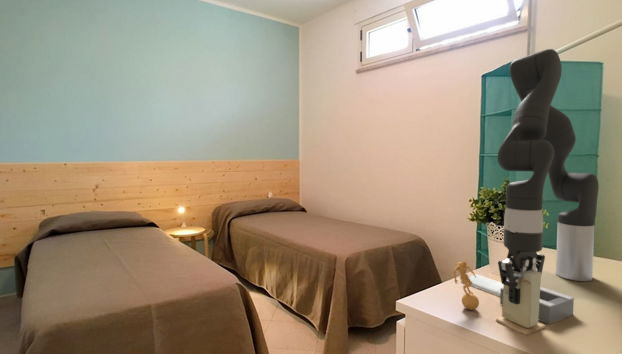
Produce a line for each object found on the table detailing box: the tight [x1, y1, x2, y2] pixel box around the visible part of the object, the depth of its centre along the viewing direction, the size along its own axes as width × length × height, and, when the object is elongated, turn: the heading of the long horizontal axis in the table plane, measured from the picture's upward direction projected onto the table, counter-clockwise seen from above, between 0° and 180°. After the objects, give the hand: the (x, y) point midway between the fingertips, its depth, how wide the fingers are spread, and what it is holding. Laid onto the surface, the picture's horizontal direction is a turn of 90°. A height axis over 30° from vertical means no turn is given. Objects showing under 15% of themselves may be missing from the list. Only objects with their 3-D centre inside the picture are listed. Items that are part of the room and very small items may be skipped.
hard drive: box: [460, 274, 504, 297], centre depth 100 cm, size 2×8×12 cm
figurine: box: [452, 260, 480, 311], centre depth 86 cm, size 8×6×12 cm
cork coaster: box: [495, 316, 546, 336], centre depth 78 cm, size 7×7×1 cm
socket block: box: [499, 286, 575, 325], centre depth 85 cm, size 10×12×4 cm
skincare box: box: [501, 270, 542, 328], centre depth 77 cm, size 6×4×12 cm
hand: (520, 300), depth 77 cm, fingers closed on skincare box, 4 cm apart
